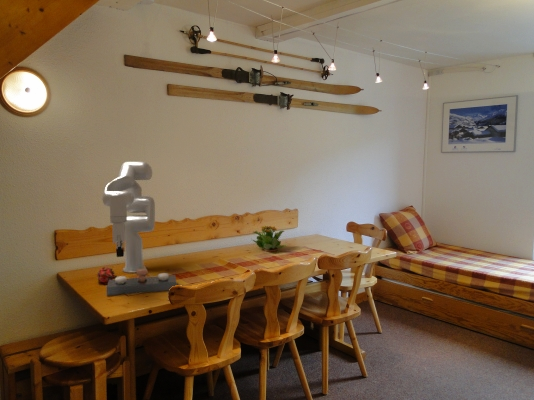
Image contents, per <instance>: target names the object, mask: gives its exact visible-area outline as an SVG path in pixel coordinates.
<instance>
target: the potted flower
mask: <svg viewBox="0 0 534 400" xmlns="http://www.w3.org/2000/svg"><path fill="white" fill-rule="evenodd" d="M260 228H261V232H258V231H257V230H255V231H252V233H253V234H256V235H257V236H256V239H257V240H254V239H252V242H253V243H255V244H256V245H257V247H259V248H261V249H263V251H264V252H270V253H272V252H276V251H278V249H280V248H281V249H282V248H285V247H287V245H286V244H285V245H284V244H283V245H282V244H281V243H282V241H280V239H279V238H280V237H281V236H282V234H283V233H284V232H285V230H279V231H278V232H276V231H277V230H278V229H277V227H275V226H271V225H269V226H267V225H263V226H261V227H260ZM274 232H275V233H274Z"/></svg>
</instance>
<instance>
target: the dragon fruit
mask: <svg viewBox="0 0 534 400" xmlns="http://www.w3.org/2000/svg"><path fill="white" fill-rule="evenodd" d="M96 275H97V276H96V277H97V280H98V282H99V283H102V284H105V285H108V281H109V280H115V278H116V277H118V275H116V274H115V271H114V270H113V268H111V267H108V266H104V267H101V268H100V269H99V271H98V272H97V274H96Z"/></svg>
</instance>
